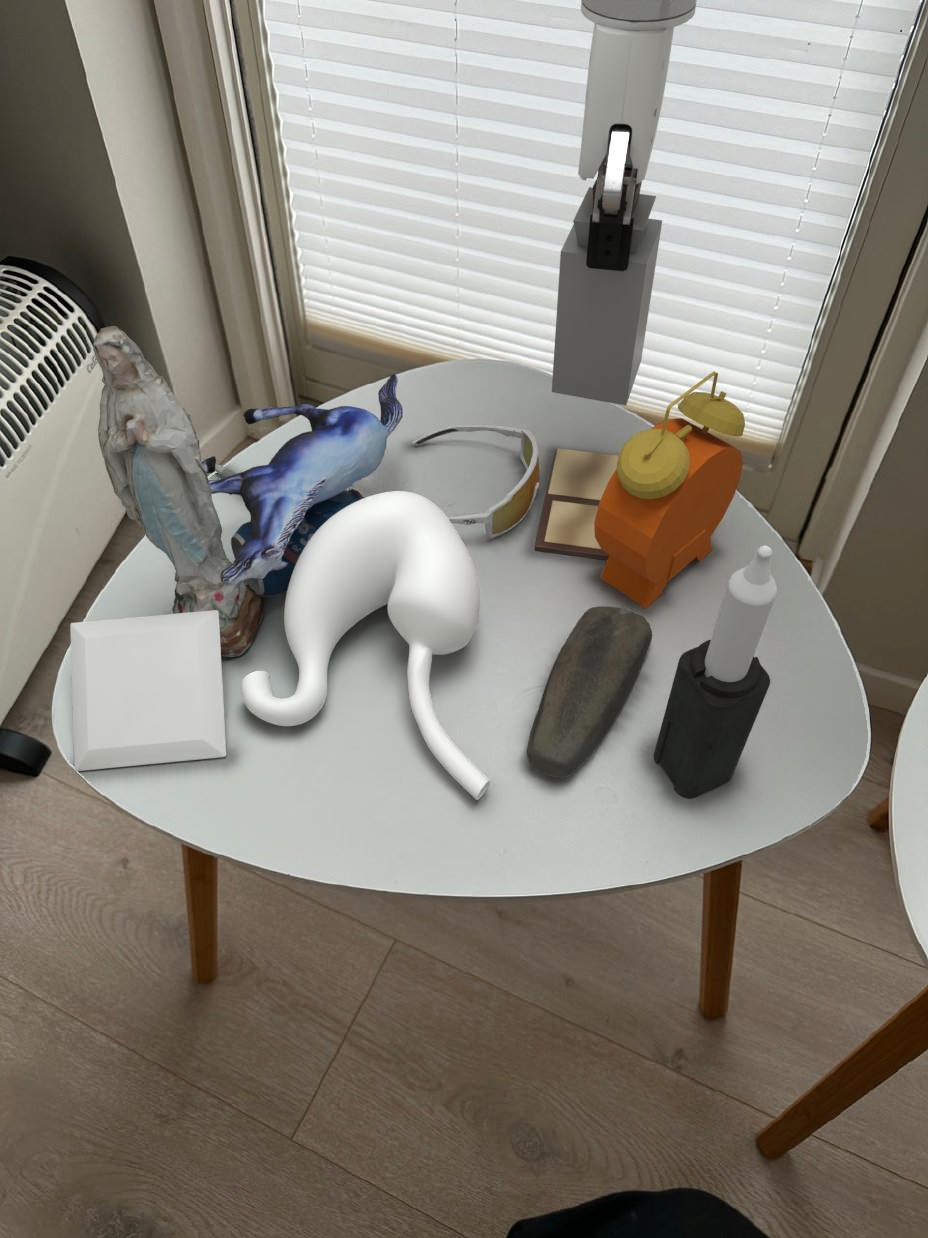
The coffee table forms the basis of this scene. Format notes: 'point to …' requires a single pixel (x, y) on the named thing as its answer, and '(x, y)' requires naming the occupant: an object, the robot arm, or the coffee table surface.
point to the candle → (719, 688)
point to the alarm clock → (669, 495)
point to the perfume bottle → (604, 308)
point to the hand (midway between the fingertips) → (612, 239)
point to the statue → (168, 487)
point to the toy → (304, 474)
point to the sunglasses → (516, 500)
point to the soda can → (294, 542)
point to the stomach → (363, 582)
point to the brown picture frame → (574, 503)
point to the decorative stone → (587, 688)
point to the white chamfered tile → (147, 690)
